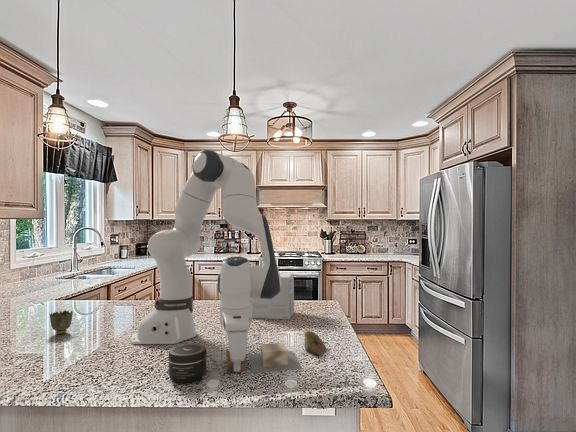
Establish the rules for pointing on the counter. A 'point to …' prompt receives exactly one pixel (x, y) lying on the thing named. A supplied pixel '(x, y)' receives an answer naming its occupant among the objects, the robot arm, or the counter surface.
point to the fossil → (314, 343)
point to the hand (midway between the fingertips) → (236, 365)
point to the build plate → (258, 366)
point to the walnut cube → (231, 365)
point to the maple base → (274, 354)
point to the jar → (187, 363)
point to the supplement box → (276, 301)
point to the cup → (61, 321)
